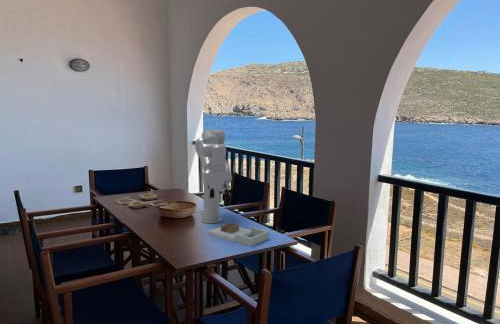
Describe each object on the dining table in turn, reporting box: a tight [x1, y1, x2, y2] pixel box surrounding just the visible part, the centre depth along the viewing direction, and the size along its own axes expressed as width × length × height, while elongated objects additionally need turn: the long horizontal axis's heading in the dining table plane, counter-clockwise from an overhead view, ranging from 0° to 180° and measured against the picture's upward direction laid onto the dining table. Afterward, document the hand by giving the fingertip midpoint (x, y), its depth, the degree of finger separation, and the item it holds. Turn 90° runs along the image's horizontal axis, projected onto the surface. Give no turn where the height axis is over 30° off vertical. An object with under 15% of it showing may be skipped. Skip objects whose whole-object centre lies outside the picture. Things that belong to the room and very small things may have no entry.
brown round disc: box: [220, 222, 240, 233], centre depth 203 cm, size 7×7×3 cm
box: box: [234, 227, 270, 247], centre depth 194 cm, size 10×15×4 cm
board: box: [208, 226, 253, 243], centre depth 203 cm, size 18×16×2 cm
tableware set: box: [115, 192, 164, 209], centre depth 267 cm, size 35×29×4 cm
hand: (218, 198), depth 207 cm, fingers open, 8 cm apart
